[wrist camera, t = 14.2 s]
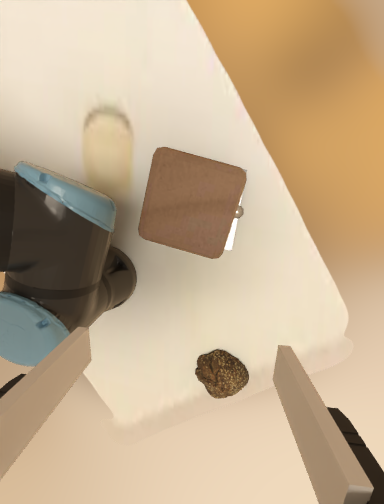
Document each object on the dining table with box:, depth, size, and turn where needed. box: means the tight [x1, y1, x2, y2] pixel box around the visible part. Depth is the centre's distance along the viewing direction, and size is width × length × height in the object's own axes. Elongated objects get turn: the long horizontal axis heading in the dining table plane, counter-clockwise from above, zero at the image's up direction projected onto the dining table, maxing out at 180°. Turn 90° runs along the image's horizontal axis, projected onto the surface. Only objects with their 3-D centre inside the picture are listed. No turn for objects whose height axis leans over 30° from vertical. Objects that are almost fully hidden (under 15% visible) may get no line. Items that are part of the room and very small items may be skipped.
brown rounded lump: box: [195, 350, 249, 398], centre depth 47 cm, size 13×12×5 cm
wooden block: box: [138, 147, 246, 259], centre depth 30 cm, size 10×10×20 cm
